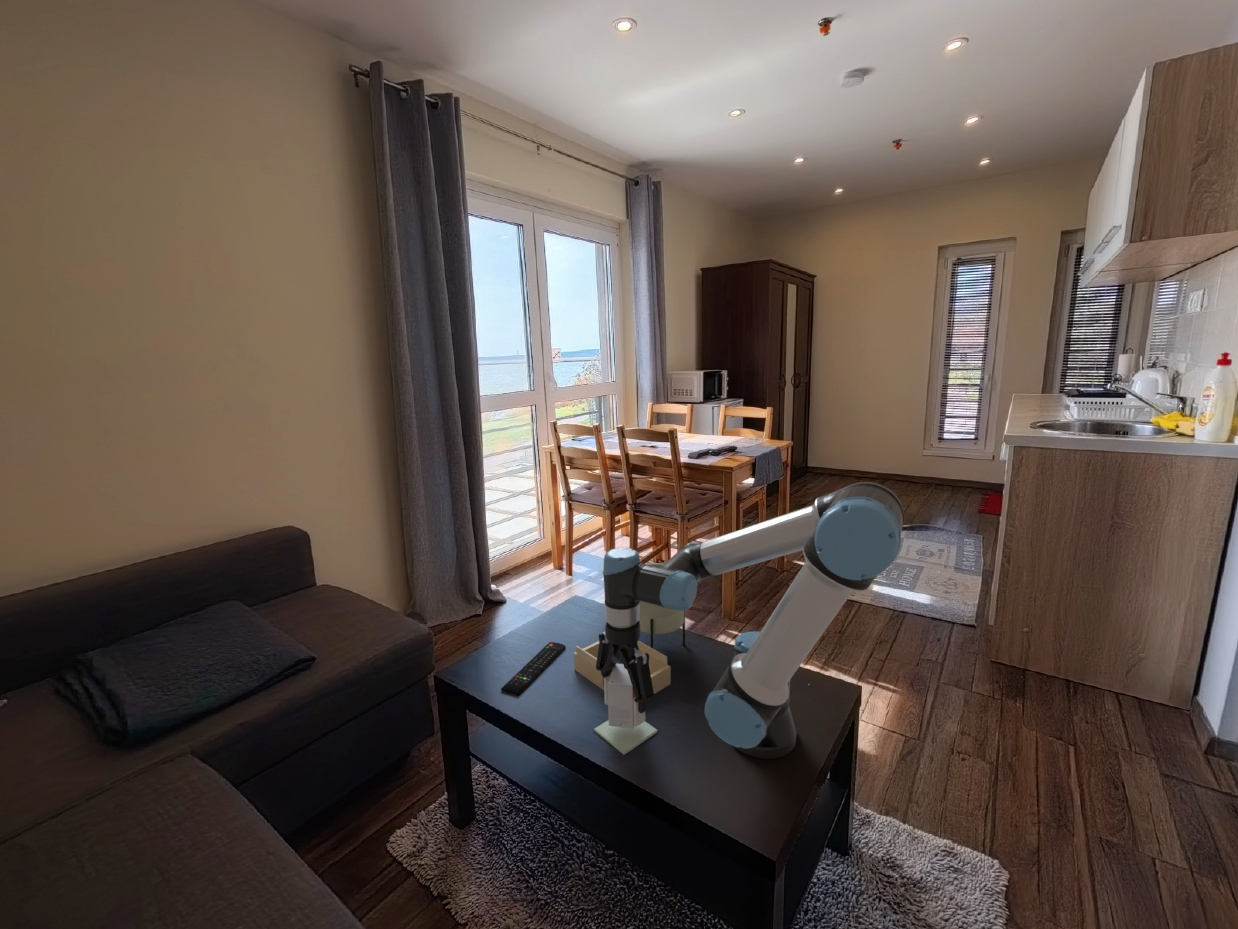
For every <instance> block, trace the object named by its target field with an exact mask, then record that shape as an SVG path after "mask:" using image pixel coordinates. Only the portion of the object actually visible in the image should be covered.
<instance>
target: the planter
mask: <svg viewBox="0 0 1238 929" xmlns="http://www.w3.org/2000/svg"><path fill="white" fill-rule="evenodd" d="M646 564H647V565H652V566H657V567H661V566H662V565H663V564H664V563H663V562H661V563H660V562H658V563H657V562H653V563H652V562H651V563H646ZM639 620H640V632H642V633H646V634H650V647H651V648H653V649H654V647H655V646H654V637H655V635H661V634H668V633H672V632H675V631H677V630H679V629H680V628H681V636H682V638H681V643H682V645H683V646H685V645H686V611H681V610H675V609H667V608H665V607H661V606H657V605H654V604H650V603H647V602H643V601H640V619H639Z"/></svg>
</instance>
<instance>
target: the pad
mask: <svg viewBox="0 0 1238 929" xmlns="http://www.w3.org/2000/svg"><path fill="white" fill-rule="evenodd" d="M593 730H594V732H595V733H596V734H597V735H599V736H600V737H601V738H603V740H605V741H606V742H607V743H608V744H610V746H612V747H613V748H615V749H616V750H618V752H620V753H621V754H622V755H624V756H625V755H626V754H627V753H629V752H631V751H632V750H634V749H636V747H638V746H639V745H641V744H642V743H644V742H645V741H646V740H648V739H649V738H651V737H652V736H654V735H655V734H657V733H658V729H656V728H655V727H654V726H652V725H651V724H650V723H649V722H646V720H645V721H644V722H643V723H641V724H640V725H638V726H637V727H636V726H634V728H633V729H631V728H622V727H614V726H609V719H607V720H606V721H604V722H603V723H601V724H600V725H598V726H596V727H594V729H593Z"/></svg>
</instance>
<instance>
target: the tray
mask: <svg viewBox="0 0 1238 929" xmlns="http://www.w3.org/2000/svg"><path fill="white" fill-rule="evenodd" d="M637 644H638V648H639V651H640V652H641V653H643V654H644V653H648V654H649V668H650V674H651V680H652V685H653V691H654V695H655V694H657V693H658V692H660V691H662V690H663V689H665V688H667V687H668V686H670V685H671V684H672V683H671V682H672V679H671V678H672V677H671V665H669V664H668V656H667V655H666V654H663V653H661V652H660V651H658V650H656V649H653V648H651V646H649V645H647V644H646V643H645V642H642V641H640V640H638V642H637ZM598 649H599V640H597V641H596V642H594V643H592V644H590V645H588V646H585V647H584V648H581V647H579V645H576V646H575V652H573V659H574V660H573V662H574V663H573V664H574V665H573V666H574V671H575V672H577V673H579V674H580V675H582V676H583V677H584V678H585V679H587V680H589V682H591V683H593V685H596V686H597V687H599V688H600V689H601V690H603V691H604V687H603V676H602V675H601V671H600V670H599V671H598V670H597V669H596V662H597V656H598ZM633 661H634V659H633V660H632V661H630V662H629V663H631V662H633ZM602 663H603V662H602ZM611 674H612V673H611Z"/></svg>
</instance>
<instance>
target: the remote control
mask: <svg viewBox="0 0 1238 929" xmlns="http://www.w3.org/2000/svg"><path fill="white" fill-rule="evenodd" d="M565 649H566V645H565V644H563V643H559V642H552V641H550V642H548V643H547V644H546V645H545V646H543V648H542V649H540V651H538V653H536V655H535V656H533V657H532V658H531V659H530V660H529V661H528V662H527V663H526V664H525V665H524V666H523V667H522V668H521V669H520V670H519V671H518V672H517V673H516V674H515V675H514V676H512V677H511V679H510V680H508V681H507V682H506V683H505V684H504V685H503V686H502V687H501V688H500V691H501V692H502V691H503V692H502V693H505V692H506V693H505V694H508V693H509V695H512V696H515V695H516V696H515V697H519V696H520V695H521V694H522V693H523V692H524V691H525V690H526V689H527V688H528V687H529V686H531V684H532V683H533V682H534V681H535V680H536V679H537V678H538V677H539V676H540V675H541V674H542V673H543V672H544V671H545V670H546V669H547V668H548V666H550V664H552V663H553V661H555V660H556V659H557V658H558V657H559V656H560V655H561V653H562V652H563V651H564V650H565Z"/></svg>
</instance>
